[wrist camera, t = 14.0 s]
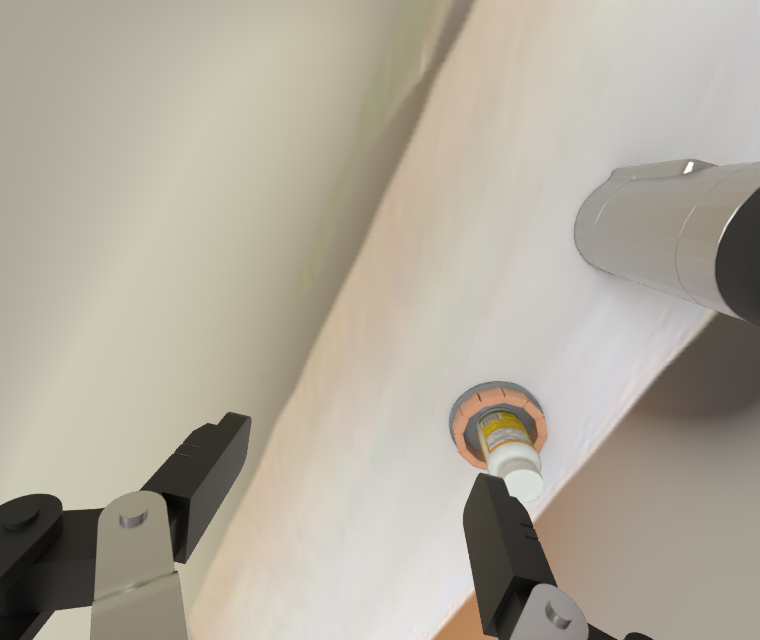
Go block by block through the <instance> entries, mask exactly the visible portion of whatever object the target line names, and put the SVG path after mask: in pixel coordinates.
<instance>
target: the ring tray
mask: <svg viewBox="0 0 760 640" xmlns="http://www.w3.org/2000/svg"><path fill="white" fill-rule="evenodd" d="M494 408H505V409H508V410H511V411H513V412H514V413H515V414H516V415H517V416H518V417H519V419H520V421H521V422H522V424H523V426H524V428H525V430H526V432H527V434H528V435H529V437H530V439H531V441H532V443H533V445H534V447H535V449H536V451H537V453H538V455H539V453H540V451H541V449H542V447H543V445H544V443H545V441H546V439H547V430H546V424H545V417H544V415H543V412H542V409H541V407H540V405H539V404H538V402H537V401H536V399H535V398H534V397H533V396H532V394H530V393H529V392H528V391H527V390H525V389H524V388H522V387H520V386H518V385H515V384H512V383H508V382H488V383H484V384H480V385H478V386H475V387H473V388H471V389H469V390H468V391H467V392H465V393H464V394H463V395H462V396H461V397H460V398H459V399H458V400H457V401H456V403H455V404H454V406H453V408H452V410H451V414H450V418H449V427H450V433H451V436H452V439H453V441H454V443H455V445H456V446H457V448H458V452H459V454H460V455H461V456H462V457H464V458H465V459H466V460H467V461H468V462H469V463H470V464H471V465H472V466H475V467H476V468H480V469H484V470H488V469H487V467H486V463H485V459H484V456H483V453H482V449H481V446H480V443H479V439H478V436H477V432H476V424H477V421H478V419H479V418H480V416H481V415H482V414H483V413H485V412H486V411H488V410H490V409H494Z"/></svg>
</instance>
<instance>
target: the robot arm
mask: <svg viewBox="0 0 760 640" xmlns="http://www.w3.org/2000/svg"><path fill="white" fill-rule="evenodd" d="M575 241H576V246H577V248H578V250H579V252H580V254H581V256H582V257H583V258H584V259H585V260H586V261H587V262H588V263H589V264H591V265H592V266H594V267H596V268H599V269H601V270H604V271H605V272H608V273H610V274H614V275H618V276H620V277H623V278H626V279H629V280H632V281H634V282H637V283H640V284H643V285H646V286H648V287H651V288H654V289H657V290H660V291H662V292H665V293H668V294H671V295H674V296H677V297H679V298H682V299H685V300H688V301H691V302H693V303H696V304H699V305H702V306H705V307H707V308H710V309H713V310H716V311H719V312H722V313H724V314H727V315H730V316H733V317H736V318H739V319H742V320H744V321H747V322H750V323H753V324H755V325H758V326H760V162H754V163H744V164H734V165H725V166H718V165H714V164H710V163H707V162H703V161H699V160H696V159H683V160H676V161H669V162H662V163H655V164H648V165H641V166H634V167H627V168H620V169H615V170H614V171H613V173H612V175H611V177H610V179H609V180H608V181H607V182H606V183H605V184H603V185H602V186H601V187H599V188H598V189H597V190H595V191H594V192H593V193H592V194H591V195H590V196H589V197H588V199H587V200H586V201H585V203H584V204H583V206H582V207H581V210H580V212H579V214H578V216H577V220H576V224H575ZM250 428H251V417H249V416H245V415H241V414H237V413H233V412H228V413H227V414H226V415H225V416H224V417H223V419H222V420H221V421H220V422H219V424H218V425H214V424H210V423H207V424H205V425H203V426H201V427H200V428H198V429H196V430H194V431H193V432H192V433H191V434H190V435H189V436H188V437H187V438H186V440H185V441H184V442H183V444H182V445H180V446H179V447H178V448H177V449H176V451H175V452H174V454H172V455H171V456H170V457H169V458H168V460H166V462H165V463H164V464H163V465H162V466H161V467H160V468H159V469H158V471H157V472H156V473H155V474H154V475H153V476H152V477H151V478H150V479H149V480H148V482H147V483H146V484H145V485H144V486H143V487H142V488H141V489H140V490H139V491H136V492H131V493H128V494H125V495H123V496H121V497H119V498H117V499H115V500H114V501H112V502H111V503H110V504H109V505H107V506H106V508H100V509H87V510H69V511H63V510H62V509H63V508H62V503H61V501H60V500H59V499H58V498H57V497H55V496H53V495H49V494H33V495H32V494H31V495H27V496H22V497H19V498H16V499H13V500H11V501H8V502H6V503H4V504H2V505H0V640H33V638H34V637H35V636H36V634H37V633H38V632H39V630H40V629H41V628H42V627H43V625H44V624H45V623H46V621H47V620H48V619H49V618H50V616H51V615H52V614H53V613H54V611H55V610H63V609H71V608H78V607H86V606H92V614H91V631H90V640H188V637H187V629H186V622H185V615H184V607H183V600H182V593H181V585H180V579H179V574H178V571H175V568H174V562H178V563H183V564H186V562H187V560H188V559H189V557H190V555H191V554H192V552H193V550H194V549H195V547H196V545H197V544H198V542H199V540H200V538H201V537H202V535H203V533H204V532H205V530H206V528H207V527H208V525H209V523H210V522H211V520H212V518H213V517H214V515H215V513H216V512H217V509H218V508H219V507H220V505H221V503H222V502H223V500H224V498H225V497H226V495H227V493H228V492H229V490H230V488H231V487H232V485H233V483H234V481H235V480H236V478H237V476H238V475H239V473H240V471H241V469H242V467H243V465H244V462H245V459H246V455H247V449H248V442H249V434H250ZM463 527H464V532H465V537H466V543H467V548H468V553H469V559H470V564H471V569H472V575H473V580H474V586H475V591H476V596H477V601H478V607H479V612H480V618H481V623H482V628H483V634H484V635H489V636H493V637H497V638H498V639H499V640H617V639H615V638H613V637H612V636H610V635H608V634H606V633H604V632H602V631H601V630H599V629H597V628H595V627H594V626H592V625H590V624H589V623H587V621H586V619H585V616H584V614H583V613H582V611H581V610H580V608H579V606H578V605H577V604H576V603H575V602H574V601H573V599H571V597H570V596H568V595H567V594H566V593H565V592H563V591H562V590H560V589H558V586H557V584H556V581H555V579H554V576H553V574H552V572H551V569H550V566H549V564H548V561H547V559H546V557H545V554H544V551H543V549H542V547H541V544H540V542H539V541H538V537H537V534H536V532H535V529H533V524H532V522H531V519H530V517H529V514H528V512H527V510H526V509H525V508H524V506H523V505H522V504H521V503H520V501H519V500H518V499H517V497H513V496H510V495H509V492H508V489H507V486H506V484H505V481H504V479H503V478H501V477H497V476H493V475H489V474H485V473H479V474H478V476H477V478H476V480H475V483H474V485H473V488H472V490H471V493H470V495H469V497H468V500H467V502H466V505H465V508H464V513H463ZM624 640H653V639H652V638H650V637H648V636H646V635H643V634H641V633H636V632H634V633H633V632H632V633H629V634H628V635H626V637H625V638H624Z"/></svg>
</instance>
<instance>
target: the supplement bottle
mask: <svg viewBox="0 0 760 640" xmlns="http://www.w3.org/2000/svg"><path fill="white" fill-rule="evenodd" d="M476 432H477V436H478V439H479V443H480V446H481V449H482V453H483V456H484V459H485V463H486V467H487V469H488V472H489V474H490V475H493V476H497V477H501V478H503V479H504V481H505V484H506V486H507V489H508V492H509V495H510V496H513V497H517V499H518V500H519V501H520V503H527V502H531V501H533V500H535V499H537V498H538V497H539V496H540V495H541V494H542V492H543V489H544V481H543V478H542V476H541V474H540V471H541V460H540V457H539V455H538V453H537V451H536V449H535V447H534V445H533V443H532V441H531V439H530V437H529V435H528V434H527V432H526V430H525V428H524V426H523V424H522V422H521V421H520V419H519V417H518V416H517V415H516V414H515V413H514V412H513V411H511V410H508V409H505V408H494V409H490V410H488V411H486V412H485V413H483V414H482V415H481V416H480V418H479V419H478V421H477V424H476Z"/></svg>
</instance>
